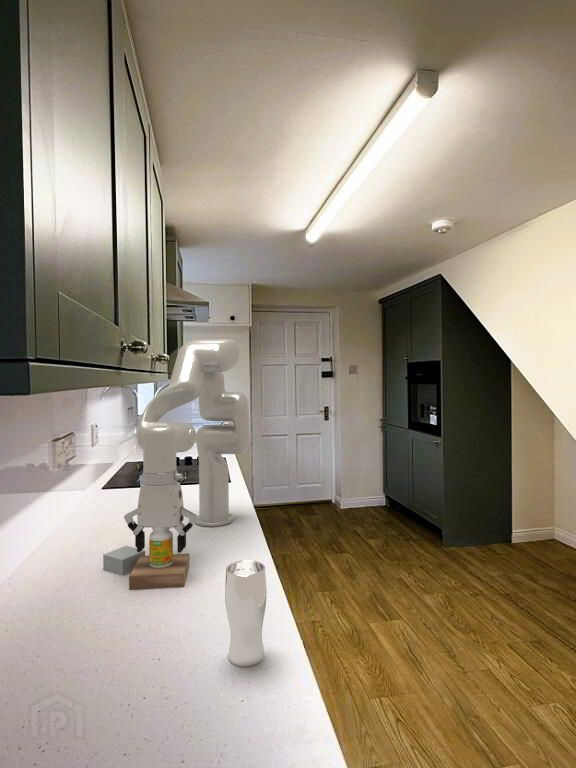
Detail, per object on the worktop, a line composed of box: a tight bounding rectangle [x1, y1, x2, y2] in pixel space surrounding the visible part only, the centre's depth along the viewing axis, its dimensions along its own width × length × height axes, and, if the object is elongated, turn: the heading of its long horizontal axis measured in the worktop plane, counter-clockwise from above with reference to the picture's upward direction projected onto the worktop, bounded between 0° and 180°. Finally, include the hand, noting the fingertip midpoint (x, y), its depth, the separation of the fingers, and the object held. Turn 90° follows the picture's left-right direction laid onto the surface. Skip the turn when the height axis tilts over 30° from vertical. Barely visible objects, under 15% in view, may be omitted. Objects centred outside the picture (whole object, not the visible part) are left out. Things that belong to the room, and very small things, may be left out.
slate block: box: [102, 545, 146, 577], centre depth 116 cm, size 7×7×4 cm
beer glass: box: [224, 559, 267, 668], centre depth 79 cm, size 7×7×15 cm
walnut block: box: [128, 553, 191, 591], centre depth 110 cm, size 12×12×3 cm
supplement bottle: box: [148, 527, 174, 568], centre depth 110 cm, size 5×5×10 cm
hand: (160, 550), depth 110 cm, fingers open, 9 cm apart
